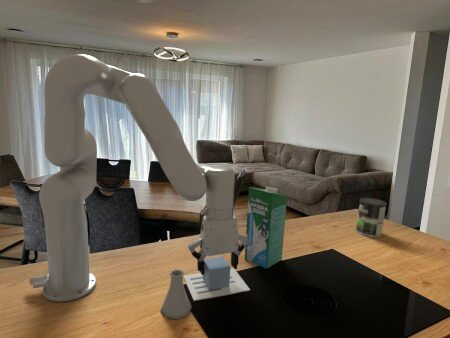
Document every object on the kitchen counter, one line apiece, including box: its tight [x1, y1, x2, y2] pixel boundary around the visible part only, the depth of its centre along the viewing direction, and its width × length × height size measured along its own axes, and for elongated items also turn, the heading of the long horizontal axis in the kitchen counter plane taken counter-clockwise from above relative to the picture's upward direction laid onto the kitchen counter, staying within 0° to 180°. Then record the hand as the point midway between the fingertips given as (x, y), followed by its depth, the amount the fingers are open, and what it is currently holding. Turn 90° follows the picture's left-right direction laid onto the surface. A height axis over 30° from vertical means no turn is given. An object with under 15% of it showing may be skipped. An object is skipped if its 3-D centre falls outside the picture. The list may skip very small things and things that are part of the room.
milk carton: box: [244, 186, 288, 270], centre depth 98 cm, size 9×9×25 cm
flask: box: [159, 268, 193, 320], centre depth 72 cm, size 7×7×10 cm
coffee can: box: [355, 197, 387, 238], centre depth 127 cm, size 10×10×14 cm
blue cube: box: [203, 256, 231, 290], centre depth 84 cm, size 6×6×6 cm
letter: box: [183, 267, 251, 302], centre depth 85 cm, size 16×12×1 cm
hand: (218, 269), depth 84 cm, fingers open, 9 cm apart
